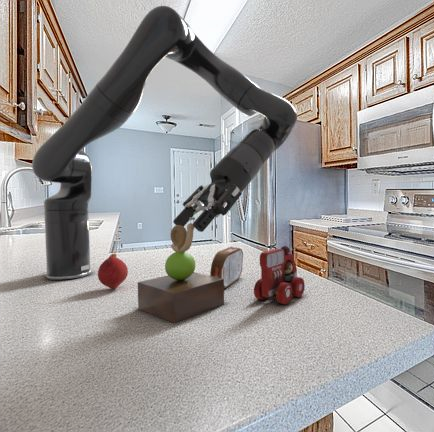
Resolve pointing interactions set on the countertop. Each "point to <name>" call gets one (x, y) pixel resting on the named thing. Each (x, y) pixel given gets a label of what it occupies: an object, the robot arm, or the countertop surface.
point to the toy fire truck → (278, 276)
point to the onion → (112, 272)
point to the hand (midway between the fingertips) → (186, 227)
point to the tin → (227, 265)
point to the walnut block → (180, 296)
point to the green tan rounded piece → (181, 253)
